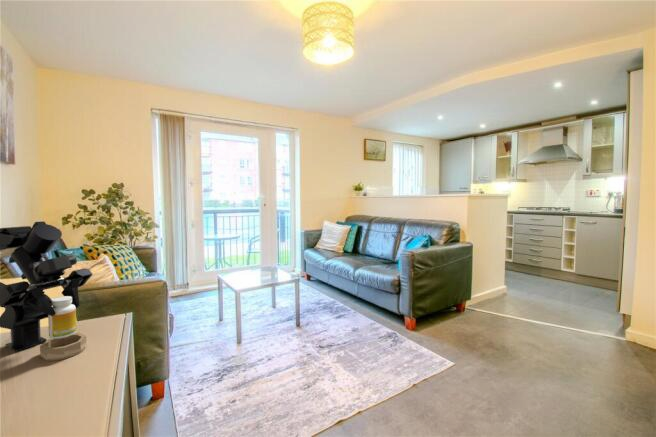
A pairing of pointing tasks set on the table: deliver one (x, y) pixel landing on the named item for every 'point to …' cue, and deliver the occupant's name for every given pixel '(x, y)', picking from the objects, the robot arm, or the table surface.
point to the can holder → (63, 347)
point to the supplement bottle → (62, 318)
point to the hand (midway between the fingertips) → (66, 310)
